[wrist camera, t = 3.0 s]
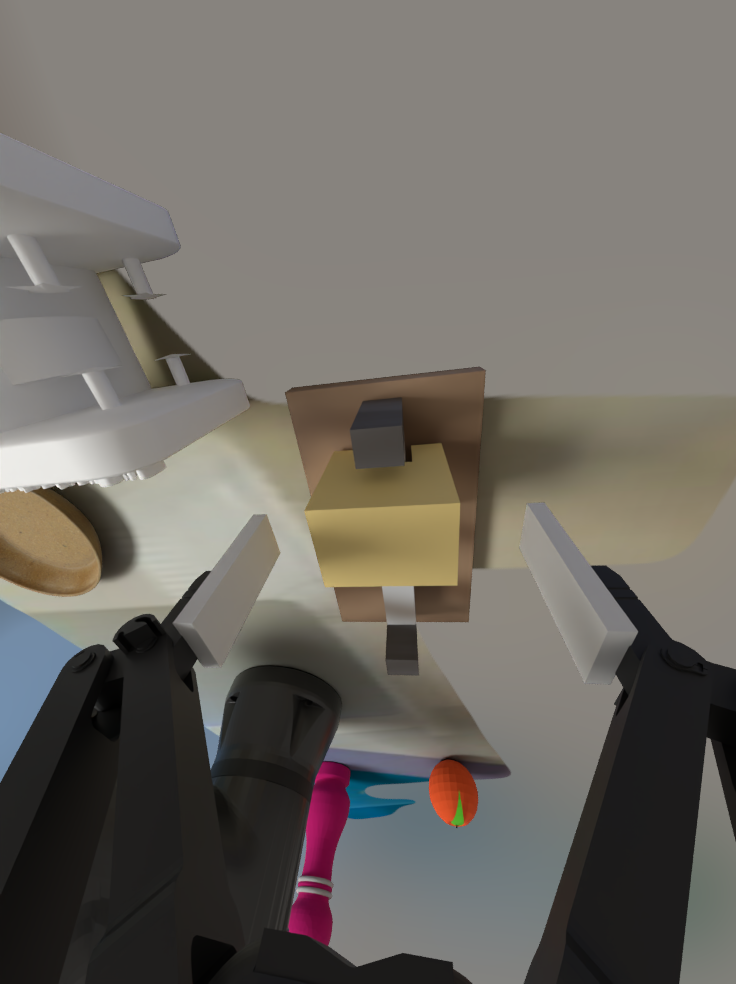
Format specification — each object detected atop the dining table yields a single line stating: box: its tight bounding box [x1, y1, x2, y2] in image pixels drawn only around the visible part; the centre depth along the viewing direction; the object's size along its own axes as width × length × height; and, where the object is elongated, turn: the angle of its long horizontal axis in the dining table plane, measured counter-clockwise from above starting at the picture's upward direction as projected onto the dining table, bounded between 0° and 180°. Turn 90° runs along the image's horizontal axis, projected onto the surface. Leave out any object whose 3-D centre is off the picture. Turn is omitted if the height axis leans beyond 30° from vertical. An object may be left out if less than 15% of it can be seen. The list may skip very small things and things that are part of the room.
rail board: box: [285, 367, 485, 675], centre depth 22 cm, size 22×12×7 cm, turn 7°
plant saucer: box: [0, 486, 102, 597], centre depth 28 cm, size 15×15×3 cm
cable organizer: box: [0, 133, 250, 494], centre depth 15 cm, size 15×11×12 cm
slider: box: [305, 443, 460, 587], centre depth 18 cm, size 5×7×7 cm
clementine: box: [429, 760, 478, 828], centre depth 43 cm, size 8×7×7 cm
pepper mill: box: [288, 762, 350, 946], centre depth 44 cm, size 7×7×20 cm
